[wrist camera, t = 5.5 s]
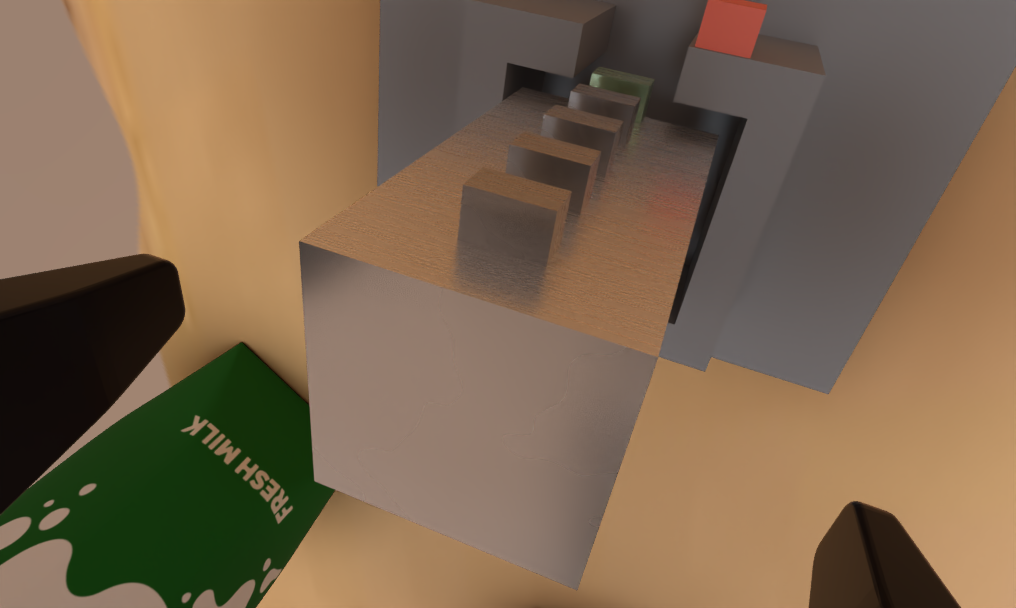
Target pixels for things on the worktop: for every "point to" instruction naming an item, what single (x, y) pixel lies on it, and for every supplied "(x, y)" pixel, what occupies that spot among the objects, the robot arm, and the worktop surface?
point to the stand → (740, 138)
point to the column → (503, 319)
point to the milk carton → (172, 501)
